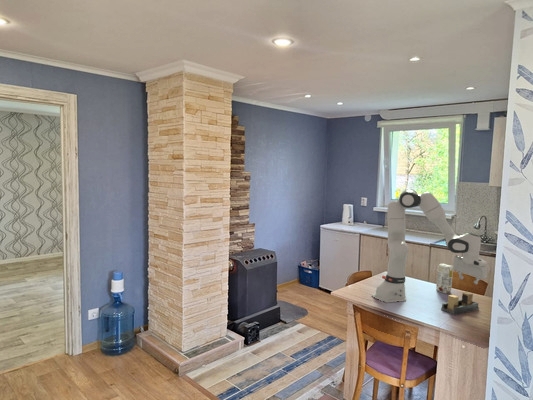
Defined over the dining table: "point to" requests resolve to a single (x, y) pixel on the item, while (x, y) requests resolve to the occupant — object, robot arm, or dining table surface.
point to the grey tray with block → (458, 306)
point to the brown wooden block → (467, 298)
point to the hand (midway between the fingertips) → (468, 281)
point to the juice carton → (444, 278)
